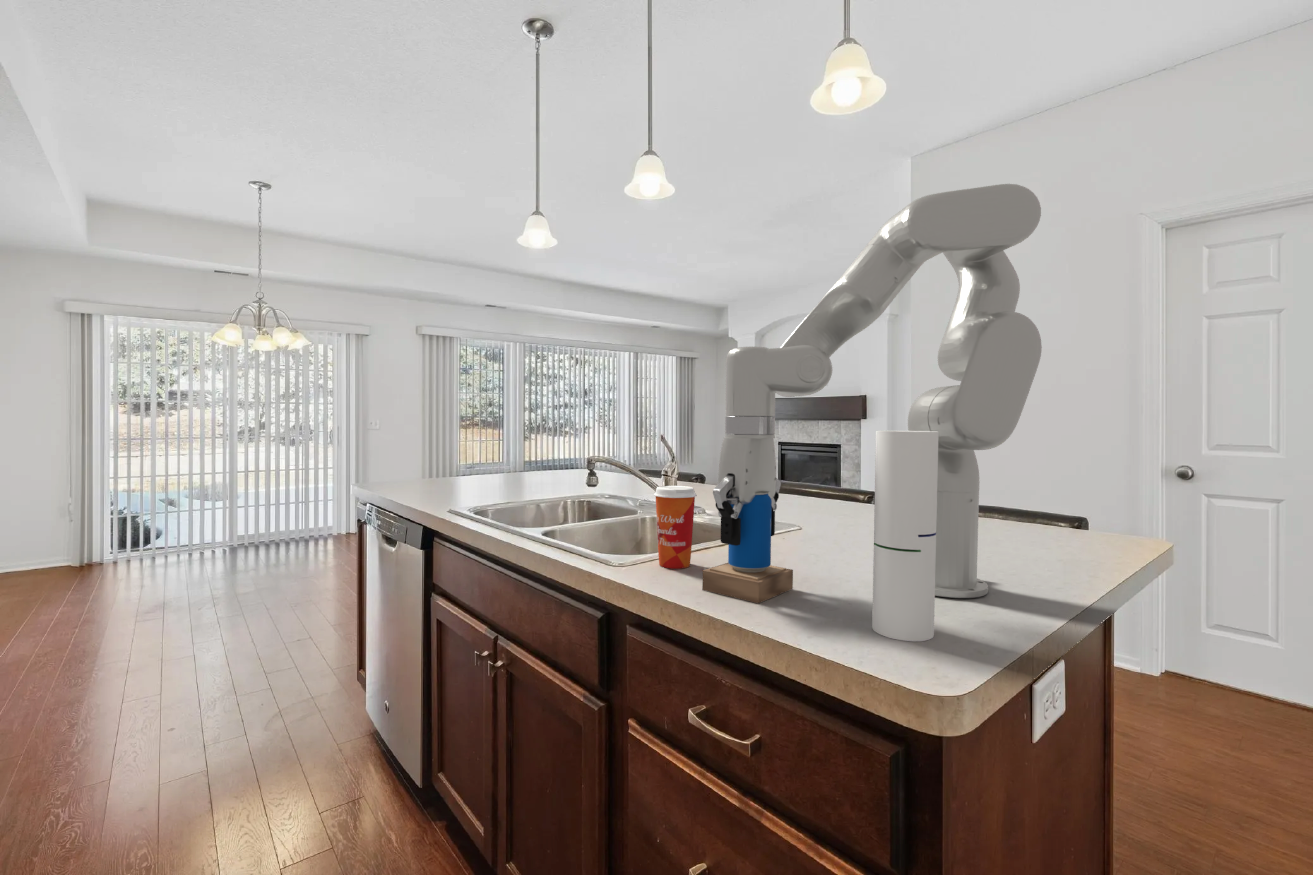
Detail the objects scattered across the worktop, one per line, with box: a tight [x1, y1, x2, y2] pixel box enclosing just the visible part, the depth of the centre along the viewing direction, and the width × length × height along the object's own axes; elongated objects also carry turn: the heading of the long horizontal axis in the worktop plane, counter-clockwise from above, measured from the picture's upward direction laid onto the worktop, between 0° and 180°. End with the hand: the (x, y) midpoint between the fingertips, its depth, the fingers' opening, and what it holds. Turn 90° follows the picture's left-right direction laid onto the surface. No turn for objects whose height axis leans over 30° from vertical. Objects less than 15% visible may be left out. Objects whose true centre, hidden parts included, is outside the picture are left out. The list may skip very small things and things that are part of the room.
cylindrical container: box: [871, 430, 939, 642], centre depth 74 cm, size 7×7×25 cm
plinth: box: [701, 562, 794, 604], centre depth 92 cm, size 10×10×3 cm
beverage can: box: [727, 491, 772, 573], centre depth 91 cm, size 6×6×12 cm
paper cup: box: [653, 485, 697, 570], centre depth 106 cm, size 8×8×14 cm
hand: (748, 539), depth 91 cm, fingers open, 9 cm apart
